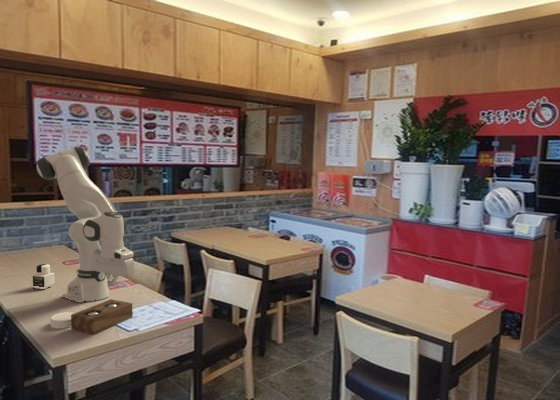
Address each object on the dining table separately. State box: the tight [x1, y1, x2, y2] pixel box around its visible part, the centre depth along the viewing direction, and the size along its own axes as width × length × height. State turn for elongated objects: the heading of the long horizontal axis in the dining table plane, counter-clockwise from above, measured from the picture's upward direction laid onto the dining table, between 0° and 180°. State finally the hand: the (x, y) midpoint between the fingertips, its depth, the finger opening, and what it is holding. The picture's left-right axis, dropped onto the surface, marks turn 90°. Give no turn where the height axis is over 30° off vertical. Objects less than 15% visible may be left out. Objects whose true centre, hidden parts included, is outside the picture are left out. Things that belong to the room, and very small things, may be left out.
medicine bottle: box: [32, 263, 56, 287], centre depth 214 cm, size 7×7×12 cm
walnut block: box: [71, 299, 133, 336], centre depth 168 cm, size 12×20×6 cm, turn 156°
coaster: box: [49, 311, 76, 330], centre depth 167 cm, size 10×10×4 cm
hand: (112, 284), depth 172 cm, fingers closed
